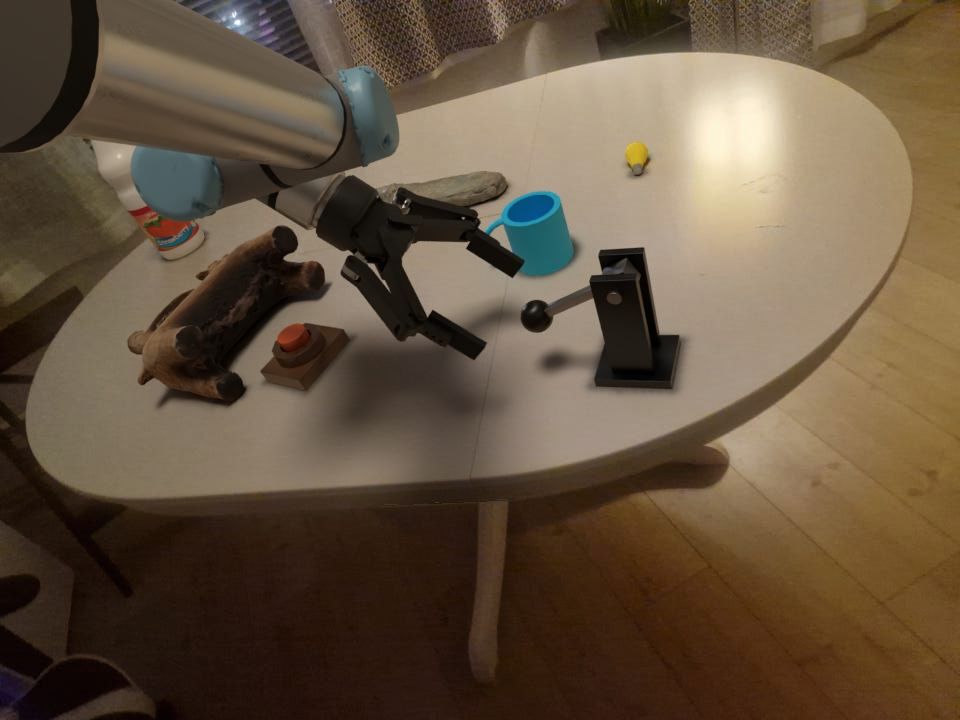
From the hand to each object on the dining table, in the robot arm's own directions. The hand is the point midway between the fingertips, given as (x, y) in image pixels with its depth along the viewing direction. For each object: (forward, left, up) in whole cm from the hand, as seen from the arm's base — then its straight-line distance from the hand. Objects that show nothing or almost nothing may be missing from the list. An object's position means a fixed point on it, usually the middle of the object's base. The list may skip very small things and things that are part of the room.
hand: (501, 308), depth 71 cm
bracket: (+3, -13, -9) cm, 16 cm away
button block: (-6, +32, -9) cm, 33 cm away
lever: (+2, -9, -1) cm, 9 cm away
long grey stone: (+31, +38, -9) cm, 50 cm away
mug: (+19, +8, -9) cm, 22 cm away
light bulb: (+43, +1, -9) cm, 44 cm away
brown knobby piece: (-4, +51, -9) cm, 52 cm away
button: (-6, +32, -5) cm, 32 cm away
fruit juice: (+16, +89, -9) cm, 91 cm away
